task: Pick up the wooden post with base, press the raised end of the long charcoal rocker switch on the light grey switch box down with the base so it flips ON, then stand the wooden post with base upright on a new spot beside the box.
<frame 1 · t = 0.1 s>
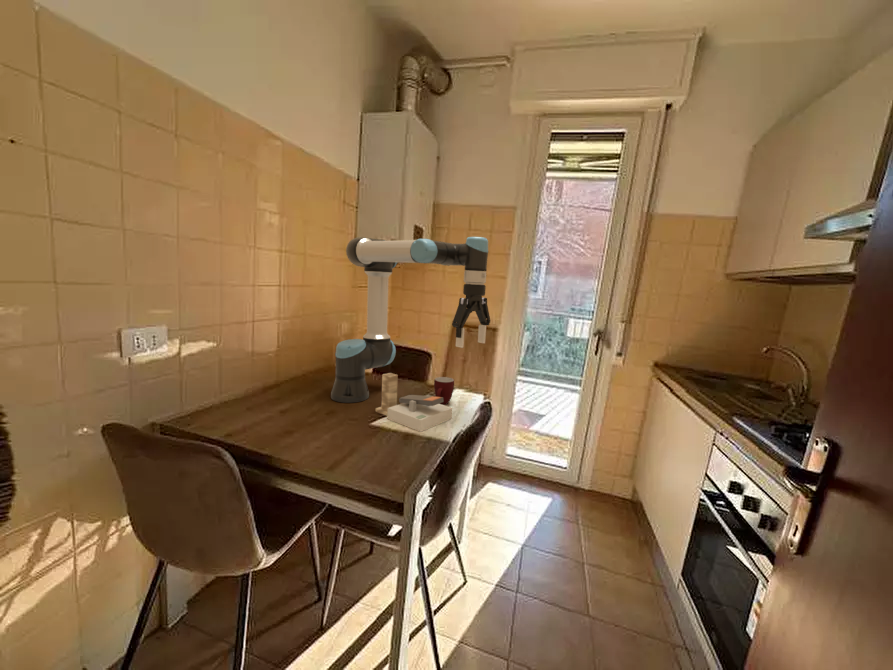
hand: (470, 344, 132), 28 cm above the table, fingers open, 13 cm apart
mug: (442, 404, 153), on the table
wooden post with base: (388, 411, 142), on the table
rocker: (420, 399, 135), point 7 cm above the table, hinge at -10.0°
switch box: (420, 418, 136), on the table
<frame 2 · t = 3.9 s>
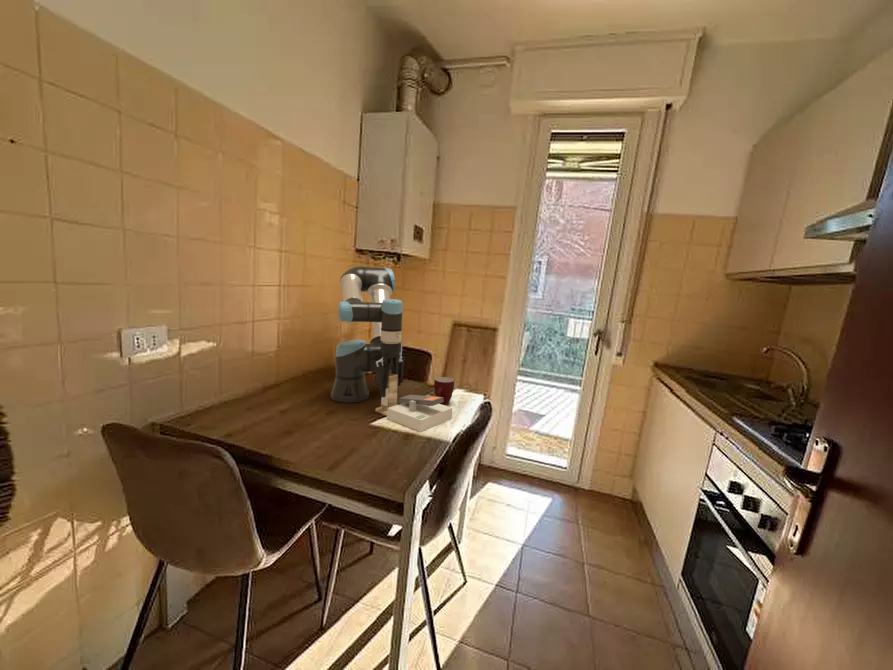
hand: (389, 403, 141), 3 cm above the table, fingers closed on wooden post with base, 4 cm apart
wooden post with base: (388, 411, 142), on the table, touching gripper
everything else where it was.
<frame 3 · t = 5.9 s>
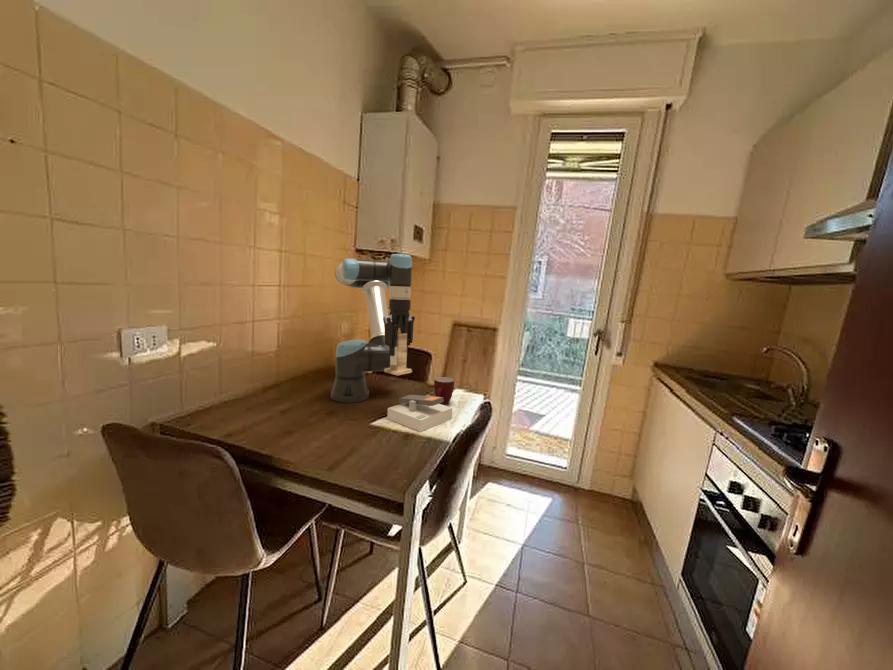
hand: (398, 363, 136), 19 cm above the table, fingers closed on wooden post with base, 4 cm apart
wooden post with base: (398, 372, 137), point 16 cm above the table, touching gripper
everything else where it was.
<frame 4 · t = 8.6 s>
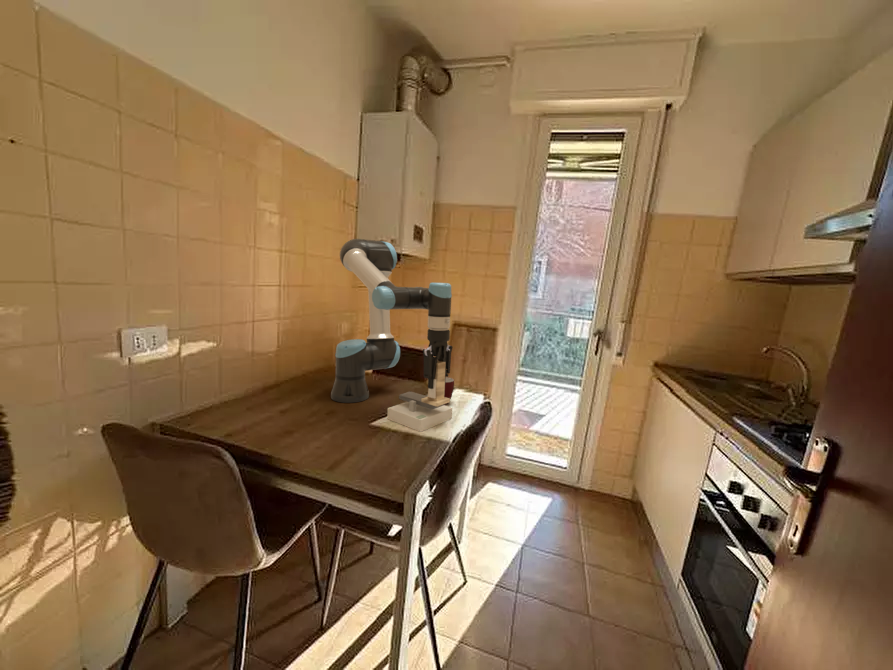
hand: (436, 395, 130), 10 cm above the table, fingers closed on wooden post with base, 4 cm apart
wooden post with base: (435, 401, 131), point 8 cm above the table, touching gripper, rocker
rocker: (420, 399, 135), point 7 cm above the table, hinge at -0.8°, touching wooden post with base
everything else where it was.
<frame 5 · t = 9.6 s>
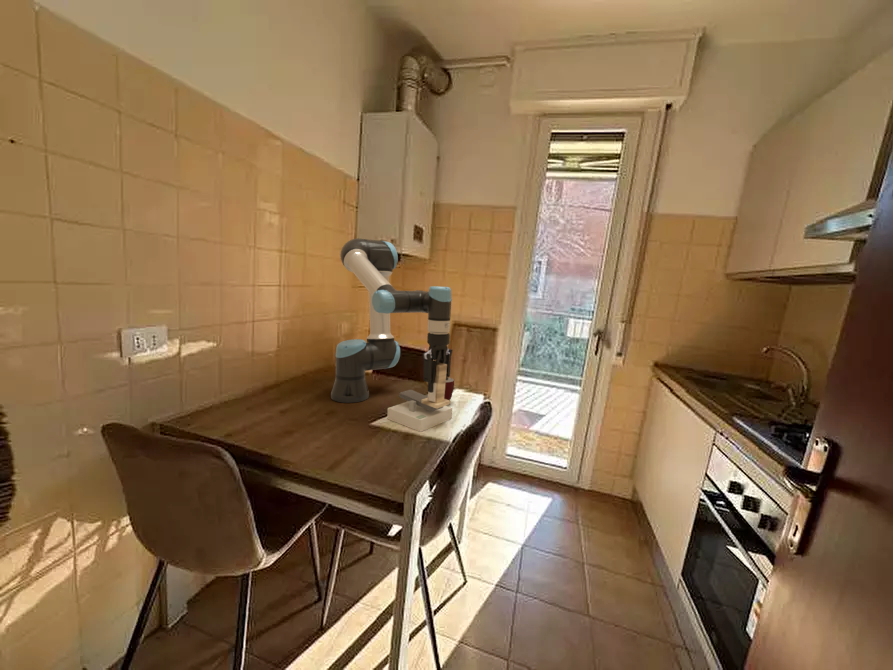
hand: (436, 399, 131), 9 cm above the table, fingers closed on wooden post with base, 4 cm apart
wooden post with base: (435, 403, 131), point 7 cm above the table, touching gripper, rocker
rocker: (420, 399, 135), point 7 cm above the table, hinge at 4.9°, touching wooden post with base
everything else where it was.
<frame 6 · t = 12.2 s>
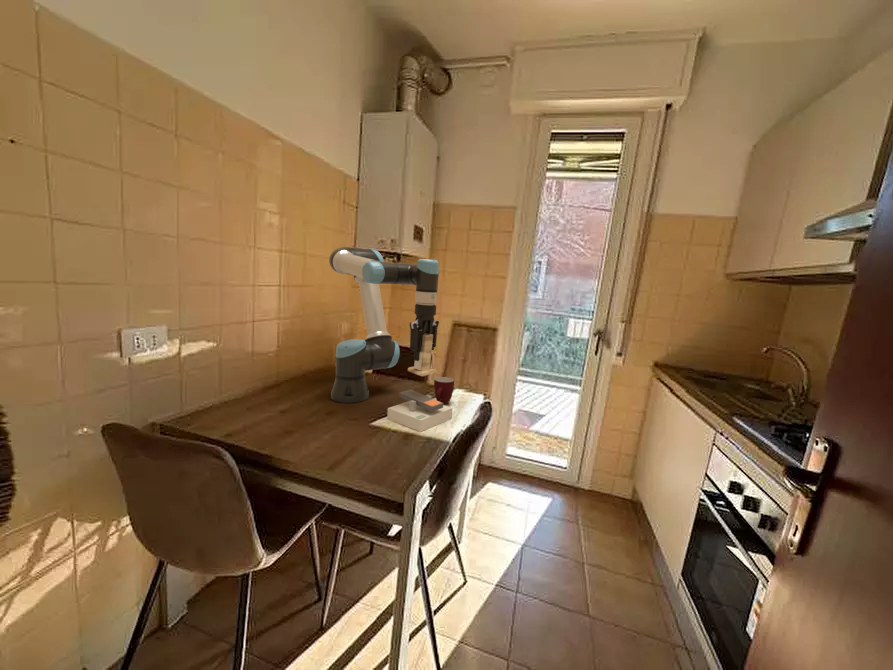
hand: (422, 367, 137), 18 cm above the table, fingers closed on wooden post with base, 4 cm apart
wooden post with base: (421, 371, 137), point 16 cm above the table, touching gripper
rocker: (420, 399, 135), point 7 cm above the table, hinge at 5.4°
everything else where it was.
when the fingers open (3 cm above the table, at t = 16.1 s): wooden post with base drops 2 cm, on the table.
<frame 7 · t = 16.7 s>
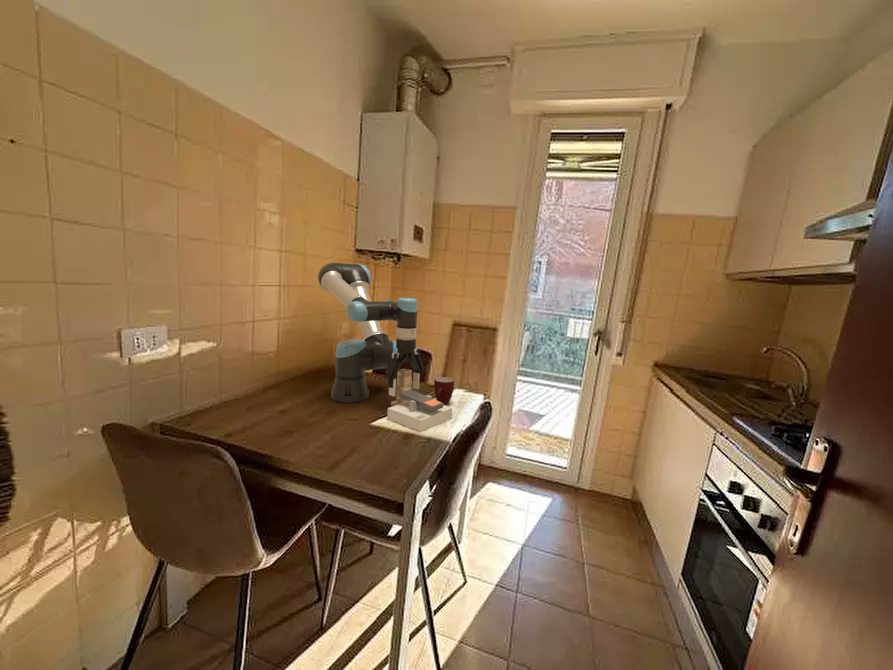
hand: (404, 391, 149), 5 cm above the table, fingers open, 13 cm apart
wooden post with base: (403, 405, 150), on the table
everything else where it was.
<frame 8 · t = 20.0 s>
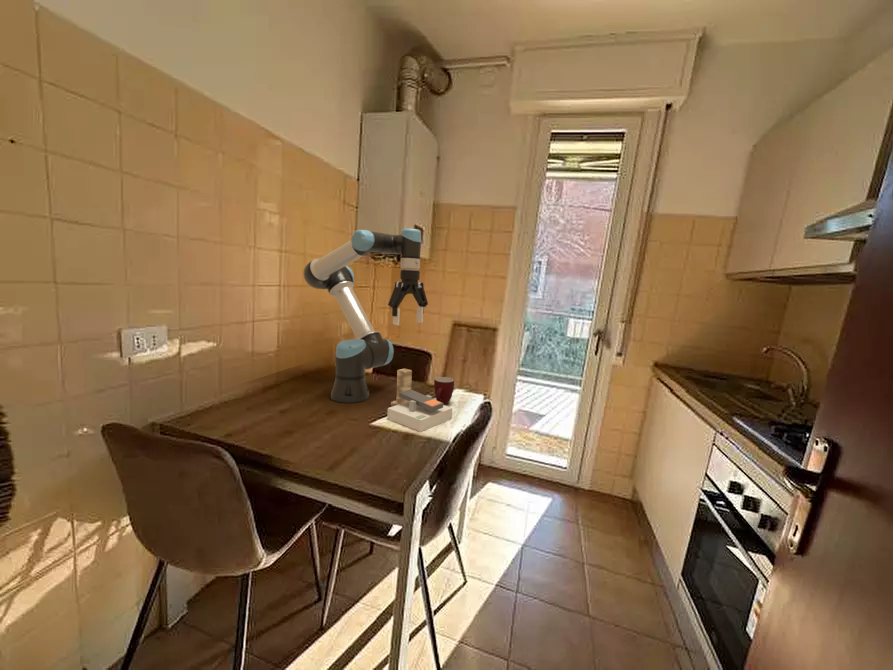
hand: (408, 323, 151), 32 cm above the table, fingers open, 13 cm apart
nothing on the table moved.
at the end: rocker at +5° (first picture: -10°); wooden post with base inside the target area (0.2 cm from its centre), on the table; wooden post with base tilted 0° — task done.
